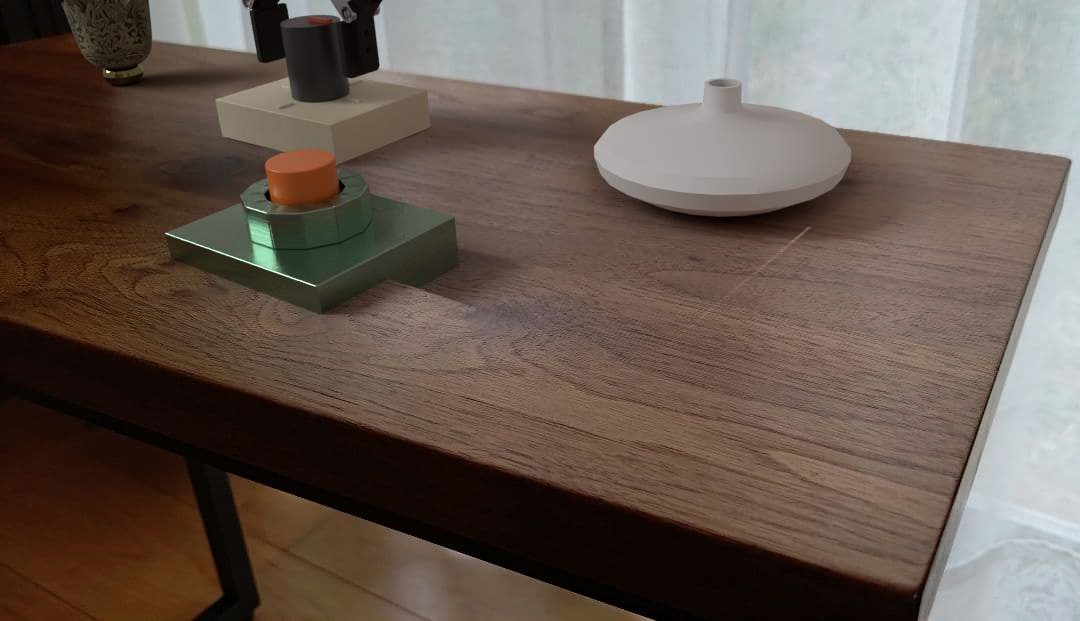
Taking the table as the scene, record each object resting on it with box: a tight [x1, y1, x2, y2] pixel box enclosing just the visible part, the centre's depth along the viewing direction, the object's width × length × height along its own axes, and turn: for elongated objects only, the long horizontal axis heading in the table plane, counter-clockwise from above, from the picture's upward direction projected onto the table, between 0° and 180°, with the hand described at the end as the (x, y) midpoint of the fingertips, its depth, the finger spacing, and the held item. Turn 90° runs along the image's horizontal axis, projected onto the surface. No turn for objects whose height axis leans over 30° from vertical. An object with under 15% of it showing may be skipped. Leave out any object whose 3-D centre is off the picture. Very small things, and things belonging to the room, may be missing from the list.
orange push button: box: [264, 149, 340, 205], centre depth 52 cm, size 4×4×2 cm
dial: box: [280, 14, 350, 102], centre depth 75 cm, size 4×4×6 cm
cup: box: [61, 0, 153, 86], centre depth 92 cm, size 8×7×8 cm
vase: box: [593, 77, 852, 218], centre depth 62 cm, size 16×16×7 cm
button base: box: [164, 168, 460, 315], centre depth 54 cm, size 12×10×5 cm
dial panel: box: [215, 76, 432, 166], centre depth 77 cm, size 13×10×3 cm
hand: (317, 65), depth 75 cm, fingers open, 9 cm apart
